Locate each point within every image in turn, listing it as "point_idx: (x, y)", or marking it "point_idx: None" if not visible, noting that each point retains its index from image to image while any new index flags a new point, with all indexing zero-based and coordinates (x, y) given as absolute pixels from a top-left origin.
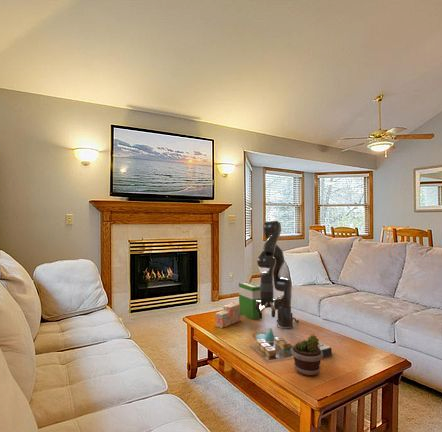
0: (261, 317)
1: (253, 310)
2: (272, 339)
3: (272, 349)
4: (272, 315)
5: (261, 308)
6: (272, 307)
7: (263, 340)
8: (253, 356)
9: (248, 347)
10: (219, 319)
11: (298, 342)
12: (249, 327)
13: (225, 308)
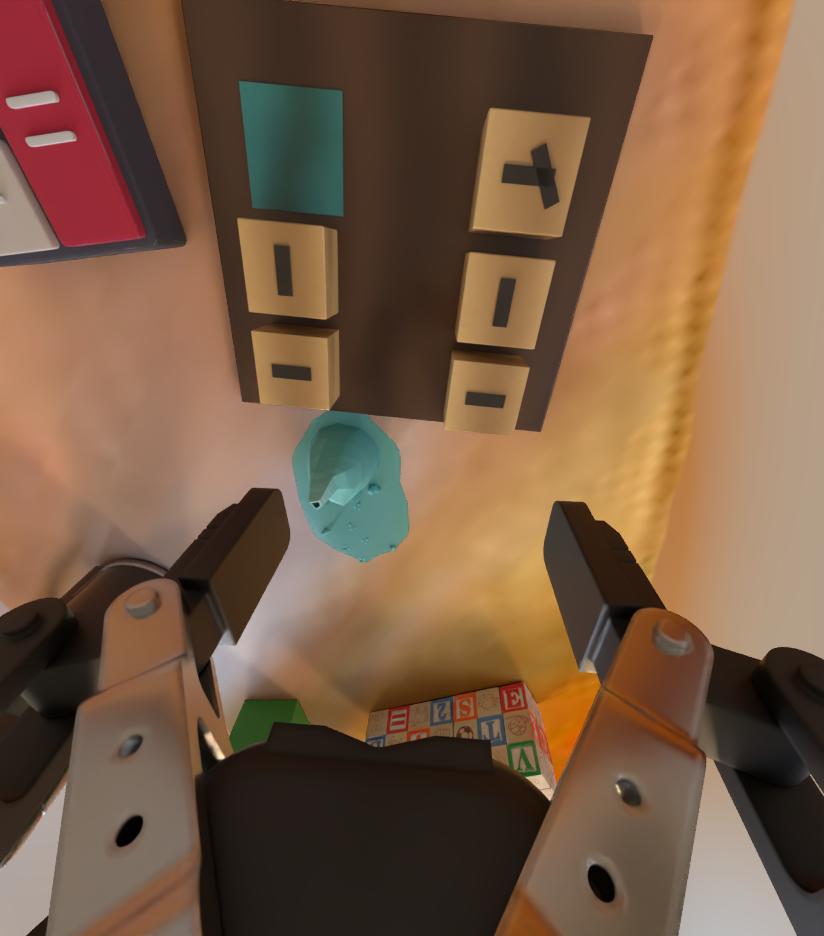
0: (581, 514)
1: None
2: (334, 436)
3: (520, 140)
4: (275, 535)
5: (688, 754)
6: (180, 692)
7: (460, 396)
8: (658, 249)
9: (566, 420)
10: (539, 743)
11: (137, 227)
12: (368, 643)
13: None
